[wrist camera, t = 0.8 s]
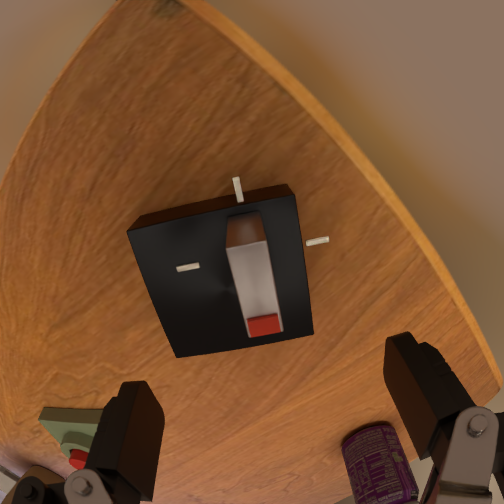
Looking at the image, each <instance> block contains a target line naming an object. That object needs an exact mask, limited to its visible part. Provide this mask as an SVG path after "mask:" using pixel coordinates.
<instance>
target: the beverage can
mask: <svg viewBox="0 0 504 504" xmlns="http://www.w3.org/2000/svg"><path fill="white" fill-rule="evenodd" d="M342 454H343V458H344V461H345V465H346V469H347V472H348V476H349V480H350V484H351V487H352V491H353V495H354V499H355V503H356V504H419V502H418V501H417V500H418V494H419V489H418V486H417V484H416V481H415V478H414V476H413V473H412V471H411V468H410V466H409V463H408V460H407V458H406V455H405V453H404V450H403V448H402V446H401V443H400V441H399V438H398V436H397V433H396V431H395V429H394V428H393V427H391V426H388V425H382V426H373V427H369V428H366V429H363V430H361V431H359V432H358V433H356V434H355V435H353V436H352V437H351V438H349V439H348V440H347V441H346V442H345V443H344V444H343V446H342Z"/></svg>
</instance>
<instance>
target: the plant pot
mask: <svg viewBox="0 0 504 504" xmlns="http://www.w3.org/2000/svg"><path fill="white" fill-rule="evenodd" d="M28 476H35V477H37V478H39V479H40V480H41V481H43V482H44V483H45V484H54V483H61V482H66V481H65V480H64V479H63V478H61V477H60V476H58V475H57V474H55V473H54V472H52V471H50V470H48V469H45V468H43V467H40V466H32V467H31V468H30V469H29V470H28V471H27V472H26V473H25V474H24V475H23V476H22V477H21V478H20V479H19V480H18V482H17V483H16V484H15V485H14V486H13V488H12V489H11V490H10V491H9V493H8V494H7V495H6V497H5V498H4V500H3V501H2V503H1V504H11V502H12V499H13V496H14V492H15V489H16V487H17V485H18V483H19V482H20V481H21V480H22V479H23V478H25V477H28Z"/></svg>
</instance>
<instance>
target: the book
mask: <svg viewBox="0 0 504 504" xmlns="http://www.w3.org/2000/svg"><path fill="white" fill-rule="evenodd" d="M19 479H20V478H19V477H18V476H16V475H14V474H13V473H11V472H10V471H8V470H7V469H5V468H4V467H2V466H0V490H1V491H3V492H4V493H6V494H8V493H9V491H10V490H11V489H12V488H13V486H14V485H15V484H16V483H17V482H18V480H19Z"/></svg>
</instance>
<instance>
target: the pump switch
mask: <svg viewBox="0 0 504 504" xmlns="http://www.w3.org/2000/svg"><path fill="white" fill-rule="evenodd" d="M102 412H103V410H94V409H64V408H48V407H44V408H43V410H42V412H41V414H40V416H39V418H38V420H39V421H40V423H41V424H42V425H43V426H44V427H45V428H46V429H47V430H48V431H49V433H50V434H51V435H52V436H53V437H54V438H55V439H56V440H57V441H58V442H59V443H60V447H61V451H62V452H63V453H64V454H65V455H66V456H67V457H68V458H70V455H71V452H72V450H73V449H80V450H83V451H85V452H88V453H89V450H90V447H91V444H92V441H93V438H94V435H95V432H97V426H98V423H99V422H100V417H101V415H102Z"/></svg>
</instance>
